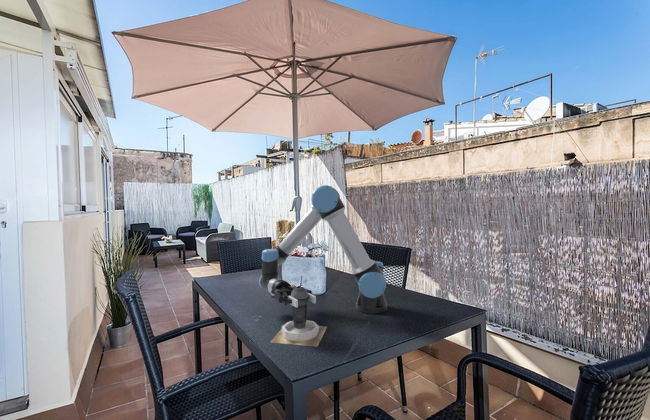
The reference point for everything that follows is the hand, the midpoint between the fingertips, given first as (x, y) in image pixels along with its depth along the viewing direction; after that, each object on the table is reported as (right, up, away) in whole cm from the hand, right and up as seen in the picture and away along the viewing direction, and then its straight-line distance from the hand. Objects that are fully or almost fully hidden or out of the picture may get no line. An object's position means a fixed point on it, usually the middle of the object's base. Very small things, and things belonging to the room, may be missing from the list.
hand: (306, 301), depth 116 cm
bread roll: (-11, -14, +63) cm, 66 cm away
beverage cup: (-3, -11, +4) cm, 12 cm away
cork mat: (-3, -15, +4) cm, 15 cm away
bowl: (-3, -14, +4) cm, 15 cm away
